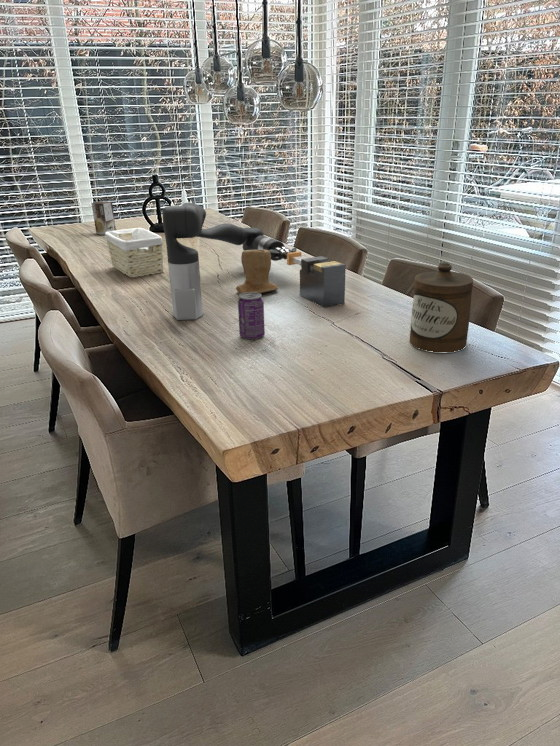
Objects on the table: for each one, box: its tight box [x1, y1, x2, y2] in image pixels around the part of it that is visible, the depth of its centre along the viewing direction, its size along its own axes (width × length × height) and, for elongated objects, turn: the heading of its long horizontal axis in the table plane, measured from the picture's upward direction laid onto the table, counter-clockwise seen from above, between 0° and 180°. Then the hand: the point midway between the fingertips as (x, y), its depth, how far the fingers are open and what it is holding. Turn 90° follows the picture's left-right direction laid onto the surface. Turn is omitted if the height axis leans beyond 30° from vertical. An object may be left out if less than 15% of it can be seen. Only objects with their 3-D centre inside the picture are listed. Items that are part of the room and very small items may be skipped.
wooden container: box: [409, 261, 474, 353], centre depth 150 cm, size 15×15×22 cm
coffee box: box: [91, 200, 117, 236], centre depth 300 cm, size 9×6×16 cm
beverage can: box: [237, 292, 266, 340], centre depth 160 cm, size 7×7×12 cm
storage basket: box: [104, 227, 164, 278], centre depth 229 cm, size 24×16×15 cm
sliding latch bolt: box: [286, 250, 314, 270], centre depth 196 cm, size 18×5×4 cm, turn 28°
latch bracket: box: [299, 255, 347, 309], centre depth 189 cm, size 16×8×13 cm, turn 28°
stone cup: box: [235, 249, 279, 295], centre depth 198 cm, size 15×12×15 cm
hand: (293, 257), depth 203 cm, fingers closed
